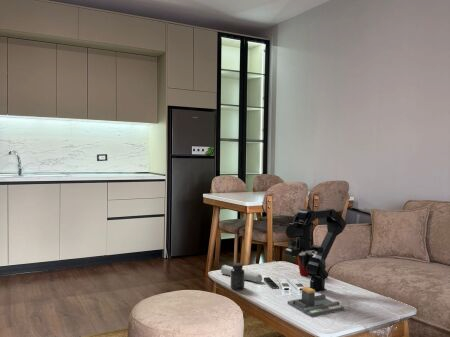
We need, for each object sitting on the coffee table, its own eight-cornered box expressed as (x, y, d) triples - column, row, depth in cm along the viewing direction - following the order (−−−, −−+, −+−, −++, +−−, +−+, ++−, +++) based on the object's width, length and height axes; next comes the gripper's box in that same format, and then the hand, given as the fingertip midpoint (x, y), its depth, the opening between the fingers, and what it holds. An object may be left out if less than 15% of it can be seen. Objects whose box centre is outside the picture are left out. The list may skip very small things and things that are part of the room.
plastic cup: (311, 279, 219) (312, 256, 218) (292, 276, 224) (293, 254, 224) (318, 274, 228) (319, 252, 228) (300, 271, 234) (300, 250, 233)
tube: (265, 274, 214) (228, 265, 230) (259, 273, 210) (222, 263, 226) (262, 284, 212) (225, 274, 228) (257, 283, 209) (219, 273, 225)
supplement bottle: (229, 286, 205) (230, 262, 205) (243, 285, 206) (243, 262, 206) (231, 290, 199) (231, 266, 198) (245, 290, 199) (245, 265, 199)
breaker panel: (319, 298, 190) (319, 291, 190) (344, 309, 176) (344, 302, 176) (287, 303, 182) (287, 297, 182) (310, 316, 168) (310, 309, 167)
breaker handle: (307, 302, 180) (307, 286, 180) (314, 306, 175) (314, 289, 175) (301, 303, 178) (301, 287, 178) (308, 307, 174) (309, 290, 174)
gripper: (309, 231, 206) (309, 262, 207) (278, 234, 198) (278, 266, 198) (324, 235, 196) (323, 268, 197) (292, 238, 188) (291, 272, 188)
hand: (304, 268), depth 195 cm, fingers closed
